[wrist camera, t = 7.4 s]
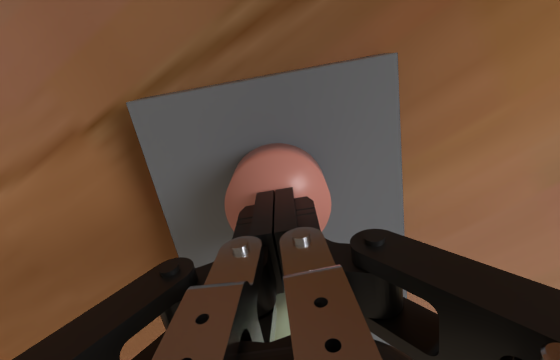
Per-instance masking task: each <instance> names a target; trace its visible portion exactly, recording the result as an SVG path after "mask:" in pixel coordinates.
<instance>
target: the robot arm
mask: <svg viewBox="0 0 560 360" xmlns="http://www.w3.org/2000/svg"><path fill="white" fill-rule="evenodd" d="M284 289H285V296H286V304H287V311H288V318H289V326H290V333H291V335H289V336H286V337H283V338H281V339H278V340H275V341H274V339H275V329H276V320H277V309H276V304H275V303H276V294H280V293H284ZM403 289H404V290H406V291H408V292H410V293H412V294H414V295H416V296H418V297H420V298H422V299H424V300H426V301H427V302H429V303H430V304H431V305H432V306H433V307H434V308H435V310H436V311H437V313H438V314H436V313H434V312H432V311H430V310H428V309H426V308H424V307H422V306H420V305H418V304H416V303H414V302H412V301H410V300H408V299H406V298H405V297H403ZM159 315H160V316H161V319H162V321H163V324H164V326H165V329H166V331H165V332H164V333H163V334H162V335H161V336H159V337H158V338H157V339H156V340H155V341H153V342H152V343H151V344H150V345H149V346H147V347H146V348H145V349H144V350H143V351H141V352H140V353H139V354H138V355H137V356H135V357H134V358H133V359H132V360H560V290H558V289H555V288H552V287H549V286H547V285H544V284H541V283H538V282H535V281H532V280H529V279H526V278H523V277H521V276H518V275H515V274H512V273H509V272H506V271H503V270H500V269H497V268H495V267H492V266H489V265H486V264H483V263H480V262H477V261H474V260H472V259H469V258H466V257H463V256H460V255H457V254H454V253H451V252H448V251H446V250H443V249H440V248H437V247H434V246H431V245H428V244H425V243H422V242H420V241H417V240H414V239H411V238H408V237H405V236H402V235H399V234H397V233H394V232H391V231H388V230H383V229H367V230H363V231H360V232H358V233H356V234H355V235H353V236H352V238H351V239H350V244H348V243H337V242H332V241H330V240H328V239H326V238H325V237H324V235H323V233H322V232H321V230H320V226H319V222H318V218H317V214H316V209H315V205H314V201H313V200H312V199H310V198H309V197H307V196H305V197H299V198H294V192H293V187H289V188H283V189H277V190H275V191H274V190H271V191H265V192H259V193H256V199H255V204H254V205H249V206H245V207H244V208H243V209H242V210H241V211H240V212H239V215H238V219H237V223H236V227H235V230H234V234H233V238H232V240H230V241H228V242H226V243H225V244H224V245H222V247H221V248H220V249H219V251H218V254H217V256H216V258H215V260H214V262H211V263H209V264H206V265H203V266H200V267H197V268H195V267H194V264H193V261H192V260H191V259H189V258H184V257H180V258H174V259H170V260H167V261H165V262H163V263H161V264H159V265H158V266H156V267H154V268H153V269H151V270H150V271H148V272H147V273H145V274H144V275H142V276H141V277H139V278H137V279H136V280H134V281H133V282H131V283H130V284H128V285H127V286H125V287H124V288H122V289H120V290H119V291H117V292H116V293H114V294H113V295H111V296H110V297H108V298H107V299H105V300H103V301H102V302H100V303H99V304H97V305H96V306H94V307H93V308H91V309H90V310H88V311H87V312H85V313H83V314H82V315H80V316H79V317H77V318H76V319H74V320H73V321H71V322H70V323H68V324H66V325H65V326H63V327H62V328H60V329H59V330H57V331H56V332H54V333H53V334H51V335H49V336H48V337H46V338H45V339H43V340H42V341H40V342H39V343H37V344H36V345H34V346H32V347H31V348H29V349H28V350H26V351H25V352H23V353H22V354H20V355H19V356H17V357H15V358H14V359H12V360H120V357H119V356H120V351H121V349H122V347H123V345H124V344H125V343H126V342H127V341H128V340H129V339H130V338H131V337H133V336H134V335H135V334H136V333H138V332H139V331H140V330H142V329H143V328H144V327H145V326H147V325H148V324H149V323H150V322H152V321H153V320H154V319H156V318H157V317H158V316H159ZM371 332H372V333H373V334H375V335H376V336H378V337H379V338H381V339H382V340H384V341H385V342H387V343H388V344H390V345H391V346H390V345H388V344H386V343H383V342H380V341H377V340H374V339H373V337H372V335H371Z"/></svg>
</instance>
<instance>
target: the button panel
mask: <svg viewBox="0 0 560 360" xmlns="http://www.w3.org/2000/svg"><path fill="white" fill-rule="evenodd" d="M126 104H127V107H128V110H129V113H130V116H131V119H132V122H133V125H134V128H135V131H136V134H137V137H138V139H139V142H140V145H141V148H142V151H143V154H144V157H145V160H146V163H147V166H148V169H149V172H150V175H151V177H152V180H153V183H154V186H155V189H156V192H157V195H158V198H159V201H160V204H161V207H162V210H163V213H164V215H165V218H166V221H167V224H168V227H169V230H170V233H171V236H172V239H173V242H174V245H175V248H176V250H177V253H178V256H179V258H180V257H184V258H189V259H191V260H192V261H193V264H194V267H195V268H197V267H200V266H203V265H206V264H209V263H211V262H214V260H215V258H216V256H217V254H218V251H219V249H220V248H221V247H222V245H224V244H225V243H226V242H228V241H230V240H232V238H233V234H234V231H233V229H232V228H231V226H230V224H229V222H228V220H227V217H226V213H225V195H226V191H227V188H228V186H229V183H230V181H231V178H232V176H233V174H234V171H235V169H236V167H237V165H238V163H239V162H240V161H241V160H242V158H243V157H244V156H245V155H247V154H248V153H249V152H251V151H252V150H254V149H256V148H258V147H260V146H263V145H267V144H273V143H284V144H290V145H293V146H296V147H298V148H301V149H302V150H304V151H306V152H307V153H308V154H310V155H311V156H312V157H313V158H314V159H315V161H316V162H317V163H318V165H319V167H320V168H321V170H322V173H323V176H324V178H325V181H326V184H327V186H328V189H329V192H330V196H331V213H330V217H329V220H328V222H327V224H326V226H325V228H324V229H323V231H322V233H323V235H324V237H325V238H326V239H328V240H330V241H332V242H337V243H348V244H350V239H351V238H352V236H353V235H355V234H356V233H358V232H360V231H363V230H367V229H383V230H388V231H391V232H394V233H397V234H399V235H402V236H404V211H403V185H402V158H401V132H400V105H399V79H398V53H385V54H378V55H373V56H367V57H362V58H356V59H351V60H346V61H340V62H335V63H329V64H324V65H318V66H313V67H308V68H302V69H297V70H291V71H286V72H281V73H275V74H270V75H264V76H259V77H253V78H248V79H243V80H237V81H232V82H226V83H221V84H215V85H210V86H205V87H199V88H194V89H188V90H183V91H177V92H172V93H167V94H161V95H156V96H150V97H145V98H141V99H137V100H134V101H130V102H127V103H126ZM284 291H285V289H284ZM276 295H277V294H276ZM403 297H405V298H406V299H407V291H406V290H404V289H403ZM371 335H372V337H373V339H374V340H377V341H380V342H383V343H386V344H388V343H387V342H385V341H384V340H382V339H381V338H379V337H378V336H376V335H375V334H373V333H372V332H371ZM388 345H390V344H388ZM390 346H391V345H390Z"/></svg>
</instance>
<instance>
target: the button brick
mask: <svg viewBox="0 0 560 360" xmlns="http://www.w3.org/2000/svg"><path fill="white" fill-rule="evenodd" d="M289 187H293V192H294V198H299V197H305V196H307V197H309V198H310V199H312V200H313V201H314V205H315V209H316V214H317V218H318V222H319V226H320V230H321V232H322V231H323V229H324V228H325V226H326V224H327V222H328V220H329V217H330V213H331V196H330V192H329V189H328V186H327V184H326V181H325V178H324V176H323V173H322V170H321V168H320V167H319V165H318V163H317V162H316V161H315V159H314V158H313V157H312V156H311V155H310V154H308V153H307V152H306V151H304V150H302V149H301V148H298V147H296V146H293V145H290V144H284V143H273V144H267V145H263V146H260V147H258V148H256V149H254V150H252V151H251V152H249V153H248V154H247V155H245V156H244V157H243V158H242V160H241V161H240V162H239V163H238V165H237V167H236V169H235V171H234V174H233V176H232V178H231V181H230V183H229V186H228V188H227V191H226V195H225V213H226V217H227V220H228V222H229V224H230V226H231V228H232V229H233V231H234V230H235V227H236V223H237V219H238V215H239V212H240V211H241V210H242V209H243V208H244V207H245V206H249V205H254V204H255V199H256V193H259V192H265V191H271V190H274V191H275V190H277V189H283V188H289Z"/></svg>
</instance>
